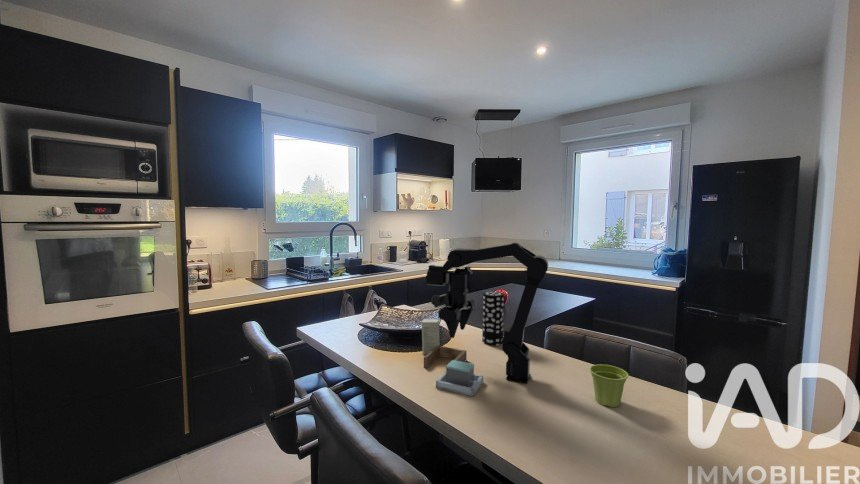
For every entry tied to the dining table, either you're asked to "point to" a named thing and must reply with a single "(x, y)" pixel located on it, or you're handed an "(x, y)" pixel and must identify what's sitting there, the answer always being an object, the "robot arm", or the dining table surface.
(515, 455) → the dining table surface
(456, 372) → the teal rectangular block
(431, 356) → the bay
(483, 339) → the spotted tube
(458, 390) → the tray
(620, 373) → the plant pot
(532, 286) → the robot arm
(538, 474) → the dining table surface
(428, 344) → the skincare box
